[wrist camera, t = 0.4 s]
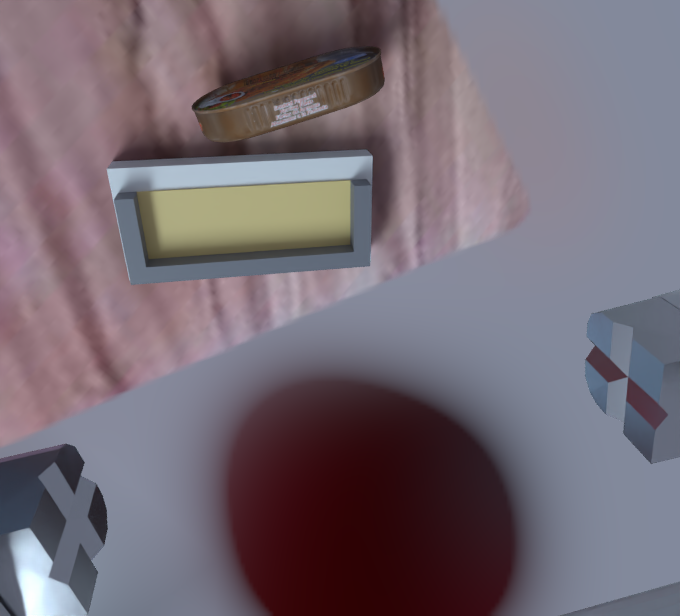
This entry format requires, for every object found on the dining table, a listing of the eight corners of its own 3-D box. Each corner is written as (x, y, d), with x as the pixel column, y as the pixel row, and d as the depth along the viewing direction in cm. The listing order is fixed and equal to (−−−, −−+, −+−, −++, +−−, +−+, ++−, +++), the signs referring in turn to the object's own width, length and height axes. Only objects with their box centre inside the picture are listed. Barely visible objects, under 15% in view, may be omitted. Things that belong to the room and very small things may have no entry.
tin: (366, 40, 47) (391, 47, 40) (375, 79, 49) (400, 93, 41) (192, 94, 47) (185, 110, 39) (206, 131, 48) (202, 154, 41)
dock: (112, 161, 48) (101, 175, 44) (366, 149, 51) (377, 161, 47) (133, 269, 53) (126, 290, 49) (365, 251, 56) (375, 270, 52)
